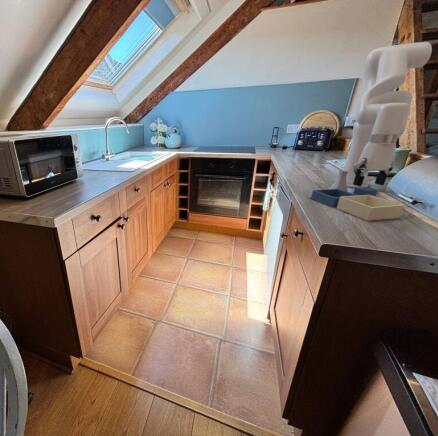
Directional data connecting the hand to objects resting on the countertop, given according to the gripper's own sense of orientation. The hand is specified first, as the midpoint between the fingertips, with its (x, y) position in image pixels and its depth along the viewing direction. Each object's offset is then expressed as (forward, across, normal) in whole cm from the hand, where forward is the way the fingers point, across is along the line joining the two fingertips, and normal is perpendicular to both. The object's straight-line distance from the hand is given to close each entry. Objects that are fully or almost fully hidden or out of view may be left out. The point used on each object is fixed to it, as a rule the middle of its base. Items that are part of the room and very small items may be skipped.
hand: (368, 184), depth 96 cm
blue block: (+7, 0, -1) cm, 7 cm away
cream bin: (+7, +10, +11) cm, 17 cm away
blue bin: (+7, +12, -2) cm, 14 cm away
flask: (+7, 0, -12) cm, 13 cm away
